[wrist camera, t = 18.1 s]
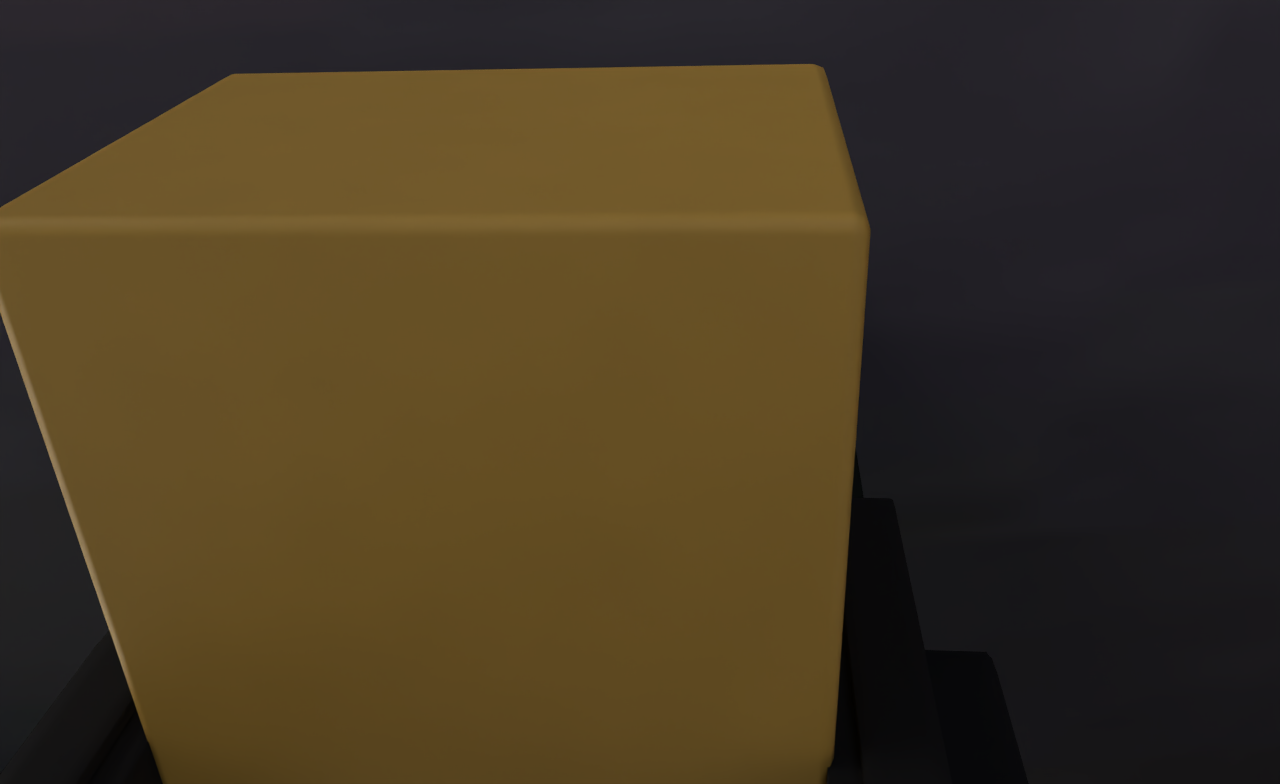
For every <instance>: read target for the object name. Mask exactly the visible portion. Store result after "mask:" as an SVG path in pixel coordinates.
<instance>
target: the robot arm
mask: <svg viewBox="0 0 1280 784" xmlns="http://www.w3.org/2000/svg"><path fill="white" fill-rule="evenodd" d="M0 784H163V783H162V780H161V777H160V774H159V771H158V768H157V765H156V762H155V759H154V756H153V753H152V751H151V748H150V745H149V742H148V741H147V738H146V735H145V732H144V730H143V727H142V724H141V721H140V718H139V715H138V712H137V709H136V706H135V703H134V700H133V697H132V695H131V692H130V689H129V686H128V683H127V680H126V677H125V674H124V671H123V668H122V665H121V663H120V660H119V657H118V654H117V651H116V648H115V645H114V642H113V639H112V636H111V633H110V631H108V632H107V634H106V635H105V636H104V638H103V639H102V640H101V641H100V642H99V643H98V644H97V645H96V647H95V648H94V649H93V651H92V652H91V653H90V655H89V656H88V657H87V659H86V660H85V661H84V663H83V664H82V665H81V667H80V668H79V669H78V671H77V672H76V673H75V675H74V676H73V677H72V679H71V680H70V681H69V683H68V684H67V685H66V687H65V688H64V689H63V691H62V692H61V693H60V695H59V696H58V698H57V699H56V700H55V702H54V703H53V704H52V706H51V707H50V708H49V710H48V711H47V712H46V714H45V715H44V716H43V718H42V719H41V720H40V722H39V723H38V724H37V726H36V727H35V728H34V730H33V731H32V732H31V734H30V735H29V736H28V738H27V739H26V740H25V742H24V743H23V744H22V746H21V747H20V748H19V750H18V751H17V753H16V754H15V755H14V757H13V758H12V759H11V761H10V762H9V763H8V765H7V766H6V767H5V769H4V770H3V771H2V773H1V774H0ZM827 784H1028V780H1027V777H1026V773H1025V770H1024V766H1023V763H1022V759H1021V756H1020V752H1019V749H1018V745H1017V742H1016V738H1015V735H1014V731H1013V728H1012V724H1011V720H1010V717H1009V713H1008V710H1007V706H1006V703H1005V699H1004V696H1003V692H1002V689H1001V685H1000V682H999V678H998V675H997V672H996V669H995V666H994V664H993V661H992V658H991V657H990V656H989V655H988V654H987V652H968V651H934V650H924V645H923V640H922V635H921V630H920V626H919V621H918V616H917V611H916V606H915V602H914V597H913V592H912V587H911V582H910V578H909V573H908V568H907V563H906V558H905V554H904V549H903V544H902V539H901V535H900V530H899V525H898V520H897V515H896V511H895V506H894V503H893V500H892V499H884V498H852V503H851V517H850V531H849V546H848V560H847V575H846V589H845V603H844V618H843V632H842V647H841V661H840V675H839V690H838V704H837V719H836V733H835V747H834V759H833V761H832V763H831V765H830V767H828V770H827Z"/></svg>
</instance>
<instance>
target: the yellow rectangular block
mask: <svg viewBox="0 0 1280 784" xmlns="http://www.w3.org/2000/svg"><path fill="white" fill-rule="evenodd" d="M869 244H870V226H869V222H868V219H867V216H866V212H865V209H864V205H863V202H862V198H861V195H860V191H859V188H858V184H857V181H856V177H855V174H854V170H853V167H852V163H851V160H850V156H849V153H848V149H847V146H846V142H845V139H844V135H843V132H842V128H841V125H840V122H839V118H838V115H837V111H836V108H835V104H834V101H833V97H832V94H831V90H830V87H829V83H828V80H827V77H826V74H825V71H824V69H823V68H822V67H820V66H817V65H815V64H787V65H729V66H670V67H612V68H553V69H495V70H437V71H378V72H320V73H261V74H232V75H230V76H228V77H226V78H224V79H223V80H221V81H219V82H217V83H216V84H214V85H212V86H210V87H209V88H207V89H205V90H204V91H202V92H200V93H198V94H197V95H195V96H193V97H191V98H190V99H188V100H186V101H184V102H183V103H181V104H179V105H177V106H176V107H174V108H172V109H171V110H169V111H167V112H165V113H164V114H162V115H160V116H158V117H157V118H155V119H153V120H151V121H150V122H148V123H146V124H145V125H143V126H141V127H139V128H138V129H136V130H134V131H132V132H131V133H129V134H127V135H125V136H124V137H122V138H120V139H118V140H117V141H115V142H113V143H112V144H110V145H108V146H106V147H105V148H103V149H101V150H99V151H98V152H96V153H94V154H92V155H91V156H89V157H87V158H86V159H84V160H82V161H80V162H79V163H77V164H75V165H73V166H72V167H70V168H68V169H66V170H65V171H63V172H61V173H60V174H58V175H56V176H54V177H53V178H51V179H49V180H47V181H46V182H44V183H42V184H40V185H39V186H37V187H35V188H33V189H32V190H30V191H28V192H27V193H25V194H23V195H21V196H20V197H18V198H16V199H14V200H13V201H11V202H9V203H7V204H6V205H4V206H2V207H1V208H0V313H1V316H2V319H3V322H4V325H5V328H6V331H7V333H8V336H9V339H10V342H11V345H12V348H13V351H14V354H15V357H16V360H17V363H18V365H19V368H20V371H21V374H22V377H23V380H24V383H25V386H26V389H27V392H28V395H29V398H30V400H31V403H32V406H33V409H34V412H35V415H36V418H37V421H38V424H39V427H40V430H41V432H42V435H43V438H44V441H45V444H46V447H47V450H48V453H49V456H50V459H51V462H52V465H53V467H54V470H55V473H56V476H57V479H58V482H59V485H60V488H61V491H62V494H63V497H64V499H65V502H66V505H67V508H68V511H69V514H70V517H71V520H72V523H73V526H74V529H75V531H76V534H77V537H78V540H79V543H80V546H81V549H82V552H83V555H84V558H85V561H86V564H87V566H88V569H89V572H90V575H91V578H92V581H93V584H94V587H95V590H96V593H97V596H98V598H99V601H100V604H101V607H102V610H103V613H104V616H105V619H106V622H107V625H108V628H109V631H110V633H111V636H112V639H113V642H114V645H115V648H116V651H117V654H118V657H119V660H120V663H121V665H122V668H123V671H124V674H125V677H126V680H127V683H128V686H129V689H130V692H131V695H132V697H133V700H134V703H135V706H136V709H137V712H138V715H139V718H140V721H141V724H142V727H143V730H144V732H145V735H146V738H147V741H148V742H149V745H150V748H151V751H152V753H153V756H154V759H155V762H156V765H157V768H158V771H159V774H160V777H161V780H162V783H163V784H827V770H828V767H830V765H831V763H832V761H833V759H834V747H835V733H836V719H837V704H838V690H839V675H840V661H841V647H842V632H843V618H844V603H845V589H846V575H847V560H848V546H849V531H850V517H851V503H852V488H853V474H854V460H855V445H856V431H857V416H858V402H859V388H860V373H861V359H862V344H863V330H864V316H865V301H866V287H867V272H868V258H869Z"/></svg>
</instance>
